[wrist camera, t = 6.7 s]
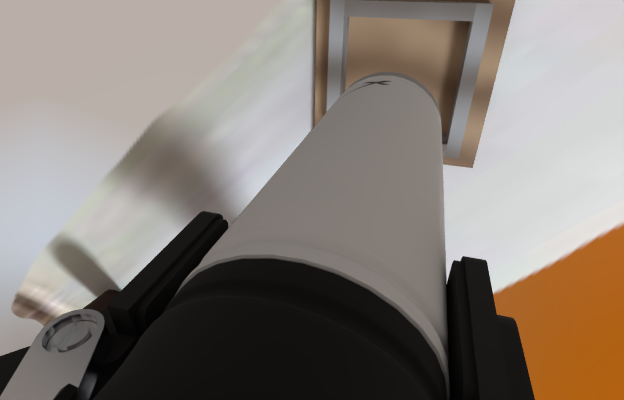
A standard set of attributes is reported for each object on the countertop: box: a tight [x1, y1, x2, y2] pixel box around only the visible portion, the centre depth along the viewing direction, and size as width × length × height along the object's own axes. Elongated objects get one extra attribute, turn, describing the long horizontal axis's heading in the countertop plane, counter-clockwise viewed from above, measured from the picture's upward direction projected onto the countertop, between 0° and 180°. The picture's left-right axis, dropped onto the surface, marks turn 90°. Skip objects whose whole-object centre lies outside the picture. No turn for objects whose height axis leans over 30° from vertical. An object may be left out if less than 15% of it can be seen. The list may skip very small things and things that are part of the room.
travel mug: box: [53, 72, 450, 400], centre depth 14 cm, size 6×7×20 cm
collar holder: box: [314, 0, 515, 168], centre depth 34 cm, size 16×16×4 cm
